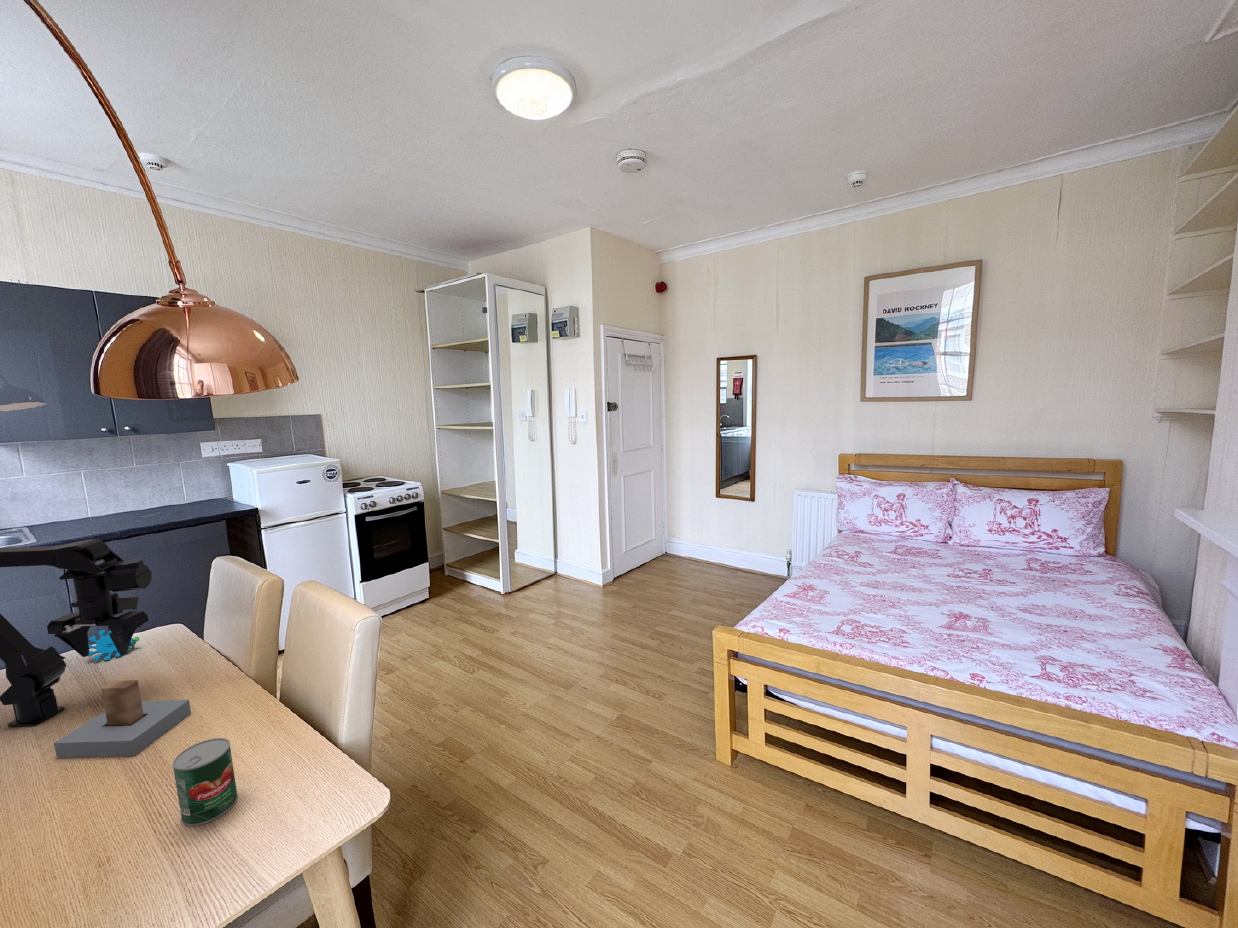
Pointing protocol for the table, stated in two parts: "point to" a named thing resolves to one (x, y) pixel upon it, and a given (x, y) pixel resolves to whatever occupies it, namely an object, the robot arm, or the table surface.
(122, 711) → the walnut peg
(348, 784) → the table surface
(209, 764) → the canned tomato
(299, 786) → the table surface
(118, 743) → the socket block
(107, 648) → the gear
